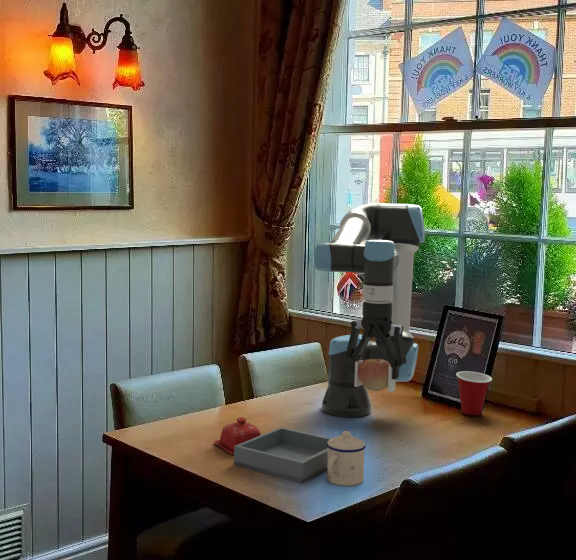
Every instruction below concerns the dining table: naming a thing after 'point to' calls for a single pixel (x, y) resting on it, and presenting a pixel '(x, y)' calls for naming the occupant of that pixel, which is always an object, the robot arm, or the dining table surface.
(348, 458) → the teacup with lid
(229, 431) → the butter dish
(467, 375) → the plastic cup
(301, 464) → the bin
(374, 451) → the dining table surface
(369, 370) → the apple
